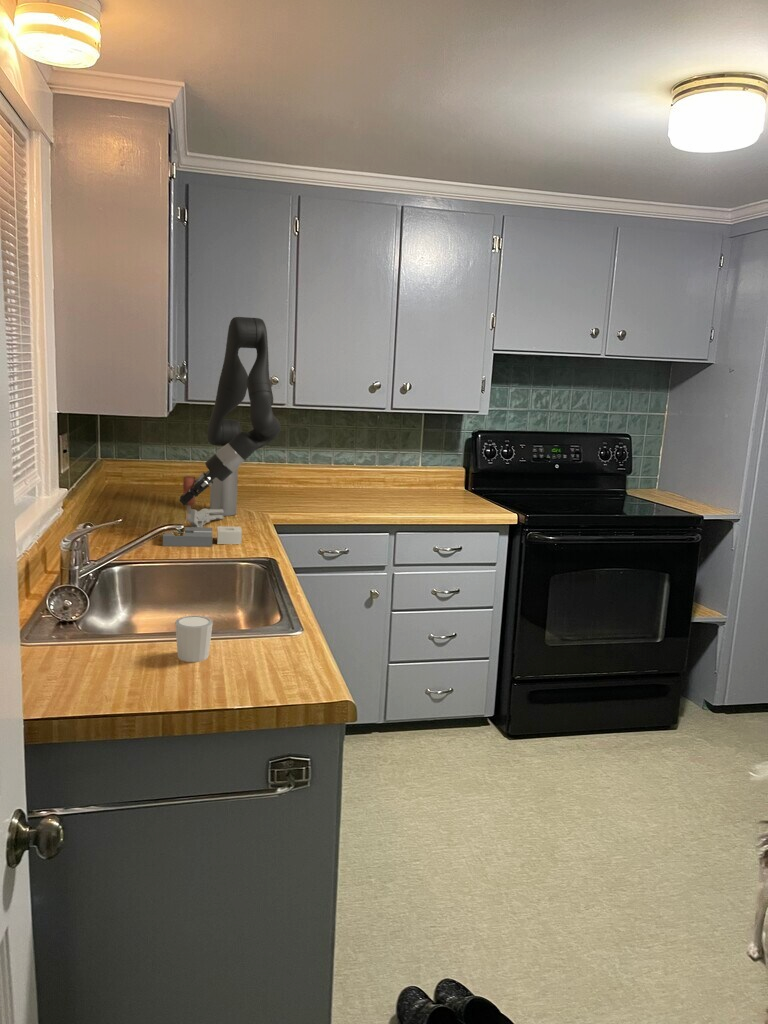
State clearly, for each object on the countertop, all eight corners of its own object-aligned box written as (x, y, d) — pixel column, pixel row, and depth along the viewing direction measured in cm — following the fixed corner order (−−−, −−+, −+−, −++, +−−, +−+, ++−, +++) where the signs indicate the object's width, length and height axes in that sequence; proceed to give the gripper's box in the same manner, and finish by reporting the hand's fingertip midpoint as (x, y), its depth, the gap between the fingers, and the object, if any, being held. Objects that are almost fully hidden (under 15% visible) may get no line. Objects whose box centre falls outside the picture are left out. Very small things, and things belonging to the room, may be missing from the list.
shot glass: (182, 666, 141) (183, 629, 140) (168, 653, 146) (169, 618, 145) (217, 659, 145) (218, 624, 144) (203, 647, 150) (204, 613, 149)
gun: (187, 533, 234) (189, 508, 234) (217, 530, 264) (219, 507, 264) (193, 534, 234) (195, 509, 234) (223, 530, 264) (225, 508, 263)
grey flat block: (164, 536, 234) (165, 526, 233) (212, 537, 237) (212, 527, 237) (162, 546, 223) (162, 535, 222) (212, 546, 226) (212, 536, 225)
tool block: (217, 539, 235) (217, 526, 234) (240, 539, 237) (240, 526, 236) (217, 544, 228) (217, 531, 228) (241, 545, 230) (241, 532, 229)
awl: (182, 520, 230) (183, 476, 227) (194, 520, 230) (195, 476, 228) (182, 522, 226) (183, 478, 224) (194, 522, 227) (195, 478, 225)
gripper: (216, 449, 233) (173, 488, 233) (216, 455, 220) (171, 496, 219) (233, 467, 235) (191, 506, 235) (234, 474, 222) (190, 515, 221)
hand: (182, 501), depth 227 cm, fingers closed on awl, 3 cm apart
